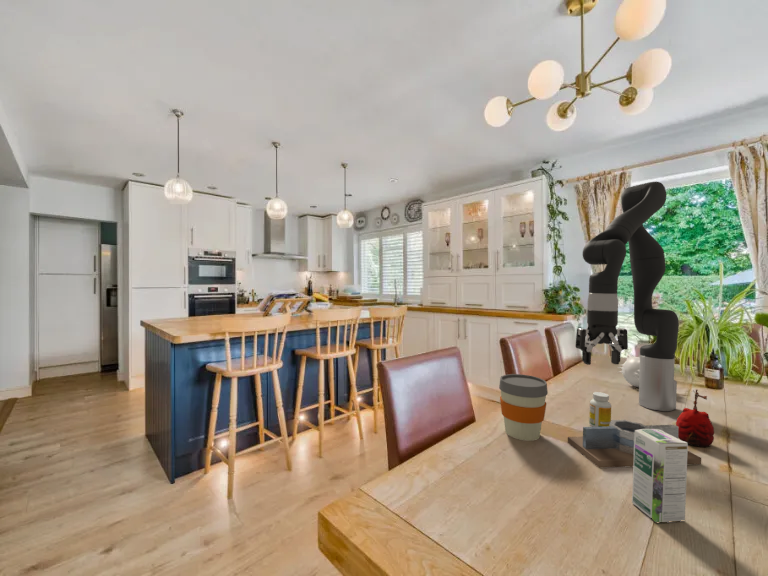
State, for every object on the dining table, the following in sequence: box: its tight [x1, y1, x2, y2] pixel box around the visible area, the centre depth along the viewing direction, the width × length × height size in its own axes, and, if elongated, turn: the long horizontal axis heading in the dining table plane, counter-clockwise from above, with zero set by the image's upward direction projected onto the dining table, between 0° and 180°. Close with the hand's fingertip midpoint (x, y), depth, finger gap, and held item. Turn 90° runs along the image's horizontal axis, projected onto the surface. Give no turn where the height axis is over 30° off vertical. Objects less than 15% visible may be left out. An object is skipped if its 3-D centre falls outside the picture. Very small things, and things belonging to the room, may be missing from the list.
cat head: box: [616, 353, 640, 389], centre depth 136 cm, size 15×13×12 cm
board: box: [567, 435, 702, 468], centre depth 85 cm, size 25×12×2 cm, turn 94°
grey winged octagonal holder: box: [582, 419, 679, 455], centre depth 85 cm, size 24×8×5 cm, turn 94°
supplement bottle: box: [588, 391, 612, 427], centre depth 100 cm, size 5×5×10 cm
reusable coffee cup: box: [499, 373, 549, 442], centre depth 95 cm, size 13×12×15 cm
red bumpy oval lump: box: [675, 389, 715, 448], centre depth 90 cm, size 8×7×15 cm
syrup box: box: [631, 429, 689, 523], centre depth 63 cm, size 6×6×14 cm
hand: (601, 364), depth 99 cm, fingers open, 8 cm apart
